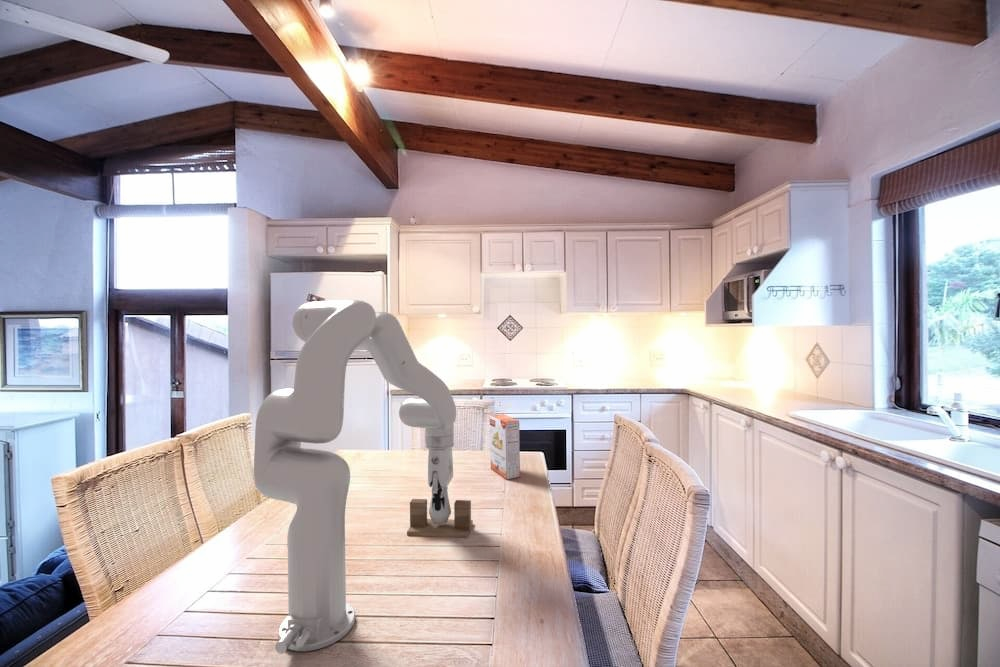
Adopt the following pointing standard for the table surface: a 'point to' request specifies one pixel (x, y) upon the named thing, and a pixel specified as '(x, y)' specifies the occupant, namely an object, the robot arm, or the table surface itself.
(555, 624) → the table surface
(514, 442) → the cracker box
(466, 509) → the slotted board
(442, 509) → the salt shaker
